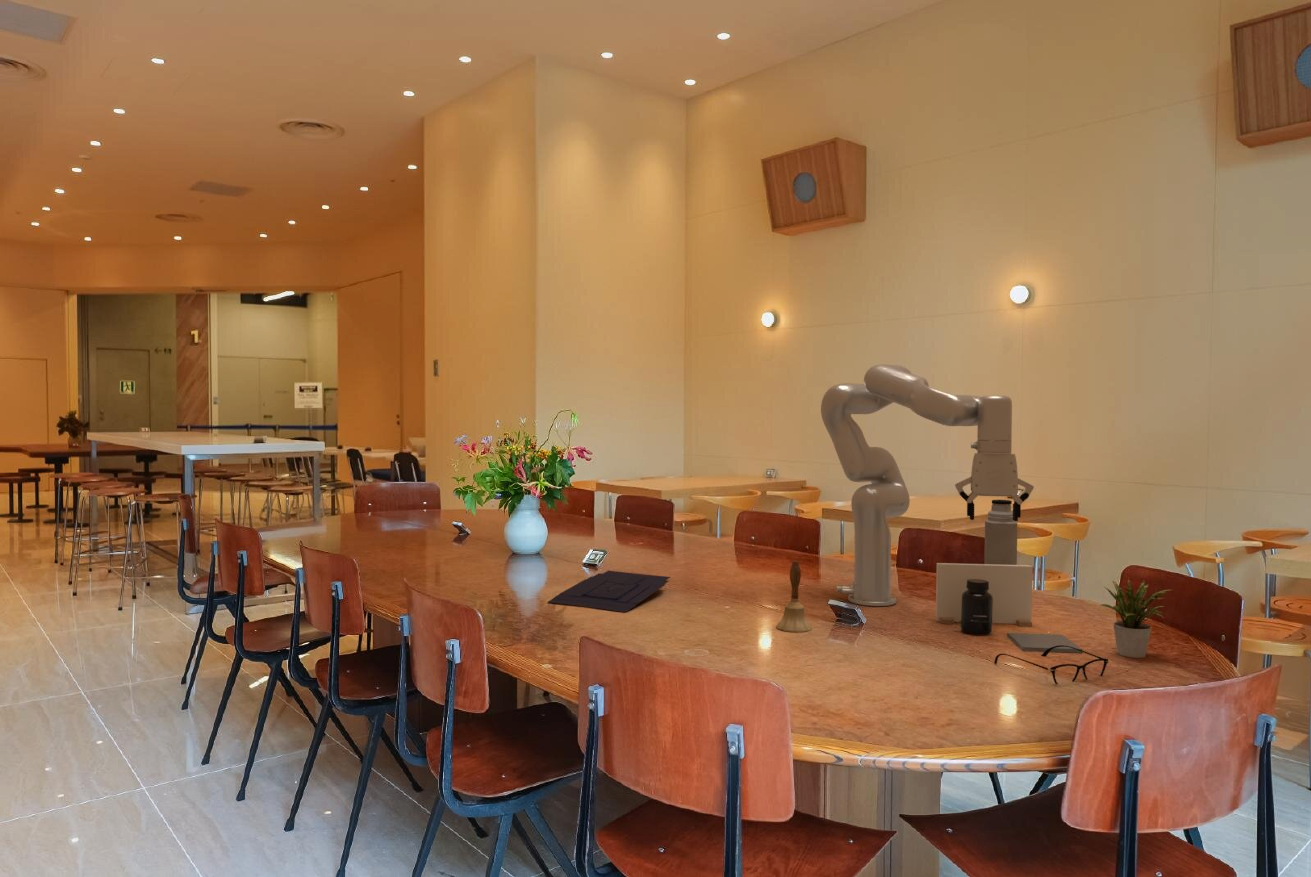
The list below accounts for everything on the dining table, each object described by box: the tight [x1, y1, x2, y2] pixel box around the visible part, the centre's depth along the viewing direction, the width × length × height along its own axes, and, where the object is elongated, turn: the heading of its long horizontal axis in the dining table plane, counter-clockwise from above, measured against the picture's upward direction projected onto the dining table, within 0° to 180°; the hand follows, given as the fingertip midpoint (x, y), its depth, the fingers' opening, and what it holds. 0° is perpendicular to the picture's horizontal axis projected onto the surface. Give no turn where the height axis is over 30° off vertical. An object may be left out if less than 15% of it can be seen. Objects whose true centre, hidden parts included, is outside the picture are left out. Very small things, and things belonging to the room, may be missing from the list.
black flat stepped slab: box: [547, 570, 671, 613], centre depth 233 cm, size 24×30×4 cm
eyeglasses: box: [993, 645, 1110, 685], centre depth 169 cm, size 16×16×4 cm
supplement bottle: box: [960, 579, 993, 636], centre depth 197 cm, size 7×7×12 cm
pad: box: [1006, 632, 1083, 654], centre depth 187 cm, size 12×12×1 cm
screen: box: [935, 562, 1033, 627], centre depth 207 cm, size 22×6×14 cm, turn 83°
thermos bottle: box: [983, 499, 1018, 565], centre depth 224 cm, size 8×8×28 cm
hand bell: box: [775, 560, 813, 633], centre depth 200 cm, size 8×8×16 cm
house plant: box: [1099, 576, 1174, 659], centre depth 178 cm, size 14×14×16 cm
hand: (993, 520), depth 201 cm, fingers open, 9 cm apart
